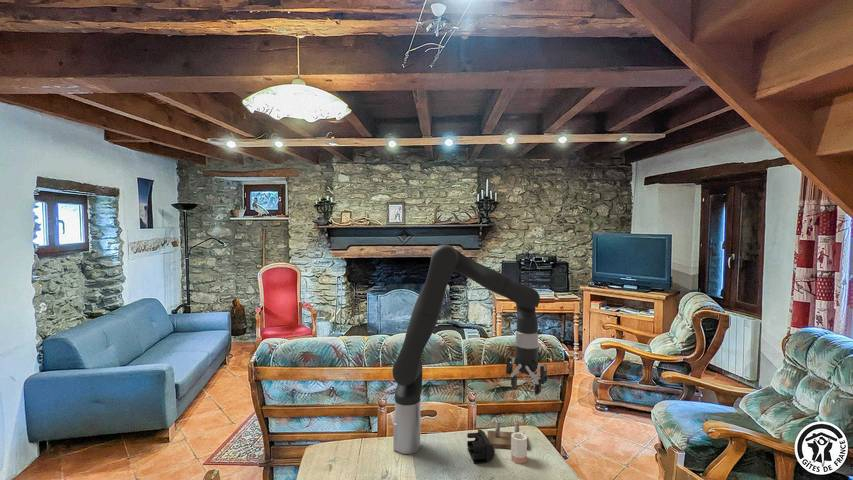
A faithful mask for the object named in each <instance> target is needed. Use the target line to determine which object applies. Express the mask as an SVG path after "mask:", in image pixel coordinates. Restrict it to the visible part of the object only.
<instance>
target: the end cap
mask: <svg viewBox="0 0 853 480" xmlns="http://www.w3.org/2000/svg"><path fill="white" fill-rule="evenodd" d="M466 437H467V439H473V440H467V441H466V442H467V443H466V445H467V451H468V453H469V456H470V459H471V460H472V463H473V464H475V465H480V464H481V465H482V464H488V463H489V462H490V461H492V460H493V458H494V457H495V453H496V450H495V448H494V447H493V446H492V444H491V442H490V441H489V439H488V435H487V434H486V433H485V431H484V430H482V429H477V432H468V433H467V434H466Z"/></svg>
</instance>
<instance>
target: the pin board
mask: <svg viewBox="0 0 853 480" xmlns="http://www.w3.org/2000/svg"><path fill="white" fill-rule="evenodd" d="M515 432H519V433H520V423H519V422H517V421H516V422H515V423H514V431H501V423H500V421H499V420H497V421H495V430H487V437H488V439H489V441H490V442H491V444H492V446H493V447H494V449H506V450H511V434H513V433H515ZM522 433H523V434H525V435H526V433H525V432H522ZM528 443H529V442H527V451H529V444H528Z"/></svg>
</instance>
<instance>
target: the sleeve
mask: <svg viewBox="0 0 853 480" xmlns="http://www.w3.org/2000/svg"><path fill="white" fill-rule="evenodd" d="M514 432H515V431H514ZM523 433H524V432H520V431H519V432H515V433H513V434H511V449H510V457H511V458H510V460H511V461H512V462H514V463H515V464H519V465H522V464H525V463H527V462H528V461H527V460H528V450H527V443H528V438H527V434H526V433H525V434H523Z"/></svg>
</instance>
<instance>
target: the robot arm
mask: <svg viewBox="0 0 853 480" xmlns="http://www.w3.org/2000/svg"><path fill="white" fill-rule="evenodd" d="M427 271H428V272H427V275H426V279H425V283H424V284H423V287H422V289H421V291H420V293H419V295H418V296H417V299H416V302H415V303H414V306H413V310H412V312H411V315H410V319H409V321H408V325H407V329H406V333H405V337H404V340H403V343H402V347H401V349H400V350H399V354H398V356H397V357H396V360H395V361H394V364H393V366H392V371H391V372H392V377H393V379H394V381H395V383H396V389H395V393H394V422H393V424H392V426H393V428H392V430H393V432H392V433H393V435H392V436H393V443H392V445H393V446H392V447H393V452H398V453H399V454H403V455H411V454H415V453H417V452H418V451H420V449H421V396H422V390H423V363H422V360H421V358H422V355H423V352H424V350H425V348H426V346H427V344H428V342H429V340H430V338H431V336H432V335H433V333H434V330H435V329H436V326H437V323H438V321H439V317H440V314H441V311H442V309H443V308H442V307H443V303H444V298H445V293H446V289H447V287H448V284H449V282H450V279H451V277H452V275H453V273H454V272H455V273H456V274H457V273H458V274H460V275H462V276H464V277H465V278H466V277H467V278H468V279H470V280H471V281H473V282H475V283H476V284H478V285H480V286H481V287H483V288H485V289H487V290H488V291H491V292H492V293H495V294H496V295H499V296H501V297H504V298H506V299H508V300H510V301H511V302H513V303H514V304H515V308H516V332H515V346H514V347H515V348H514V349H515V350H514V352H515V353H514V354H515V355H514V356H515V357H514V356H513V355H510V356H508V357H506V368H505V373H506V374H507V375H509V377H510V385H511V388H513V389H515V388H517V385H518V376H517V375H519V373H520V374H525V375H527V376H530V377H531V379H533V381H534V383H535V384H534V395H535V396H538V395H539V394H541V392H542V385H544V384H545V383H547V382H548V370H547V364H539V362H538V357H539V355H538V354H539V336H538V335H539V334H538V326H539V324H538V323H539V321H538V317H537V313H536V307H538V305H539V304H540V303H541V296H540V294H539V292H538V291H537V290H536V289H535V288H533V287H532V286H530V285H524V284H522V283H520V282H518V281H516V280H514V279H513V278H511V277H510V276H508V275H506V274H504V273H501V272H499V271H498V270H494V269H493V268H491V267H488V266H485V265H484V264H482V263H479V262H477V261H475V260H473V259H472V258H469V257H468V256H466V255H464V254H463V253H462V252H460V251H459V250H457V249H456V248H455V247H454V246H452V245H450V244H446V243H445V244H440V245H438V246H436V247H435V248H434V249H433V251H432V253H431V256H430V263H429V267H428V270H427ZM513 365H515V366H516V367H515V369H514V370H513V367H514V366H513Z"/></svg>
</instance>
